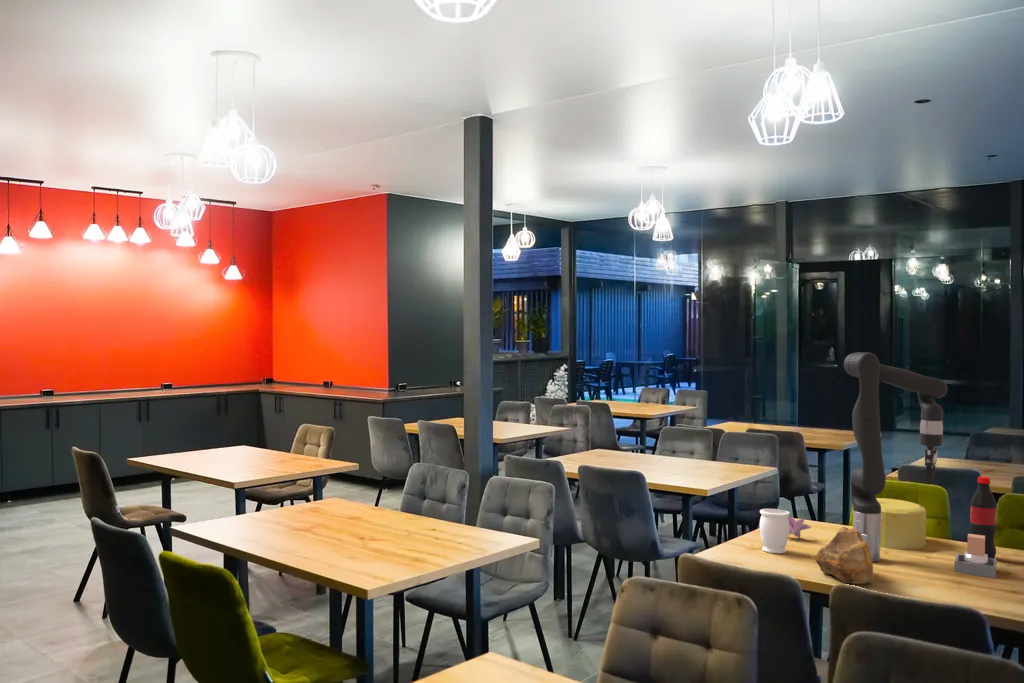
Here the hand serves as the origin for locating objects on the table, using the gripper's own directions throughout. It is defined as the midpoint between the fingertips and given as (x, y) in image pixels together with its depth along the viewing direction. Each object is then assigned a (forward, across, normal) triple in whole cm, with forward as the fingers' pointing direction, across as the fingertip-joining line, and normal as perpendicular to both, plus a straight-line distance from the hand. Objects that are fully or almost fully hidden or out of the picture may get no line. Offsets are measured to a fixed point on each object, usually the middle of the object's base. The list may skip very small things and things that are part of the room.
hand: (930, 475), depth 297 cm
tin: (+29, -17, -16) cm, 37 cm away
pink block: (+23, -17, -16) cm, 33 cm away
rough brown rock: (+30, -49, +21) cm, 61 cm away
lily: (+30, -6, +48) cm, 56 cm away
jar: (+30, -29, +49) cm, 64 cm away
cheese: (+30, +15, +16) cm, 37 cm away
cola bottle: (+30, +7, -17) cm, 35 cm away
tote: (+30, -17, -16) cm, 38 cm away
